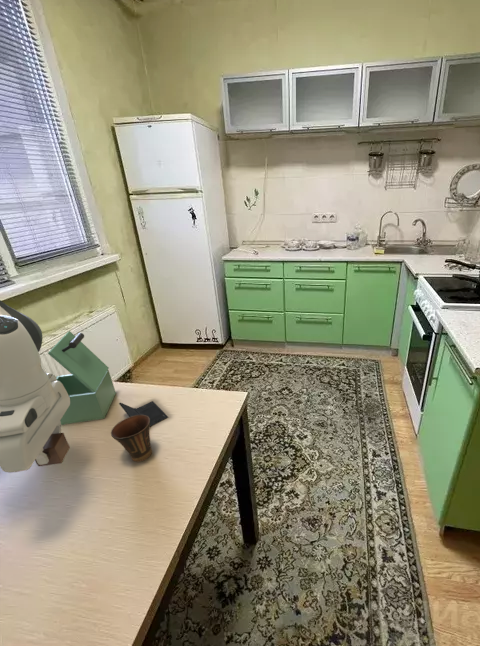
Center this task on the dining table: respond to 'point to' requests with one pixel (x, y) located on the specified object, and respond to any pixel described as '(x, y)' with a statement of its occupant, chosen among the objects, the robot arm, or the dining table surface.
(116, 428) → the cup
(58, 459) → the block
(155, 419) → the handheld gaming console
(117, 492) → the dining table surface
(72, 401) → the green open box
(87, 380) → the lid
